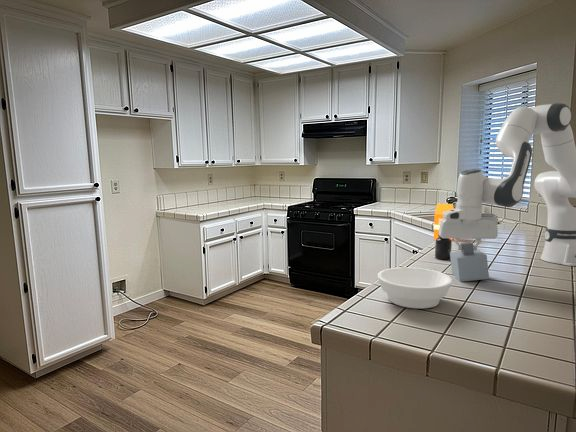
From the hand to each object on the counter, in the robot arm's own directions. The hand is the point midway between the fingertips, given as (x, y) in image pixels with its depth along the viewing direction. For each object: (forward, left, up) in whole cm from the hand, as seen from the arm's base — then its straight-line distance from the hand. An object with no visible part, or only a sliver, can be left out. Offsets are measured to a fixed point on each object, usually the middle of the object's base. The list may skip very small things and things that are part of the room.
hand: (466, 250), depth 149 cm
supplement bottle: (+1, -30, -11) cm, 32 cm away
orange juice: (-10, -76, -11) cm, 77 cm away
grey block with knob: (-2, 0, -10) cm, 10 cm away
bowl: (+24, +28, -11) cm, 38 cm away
